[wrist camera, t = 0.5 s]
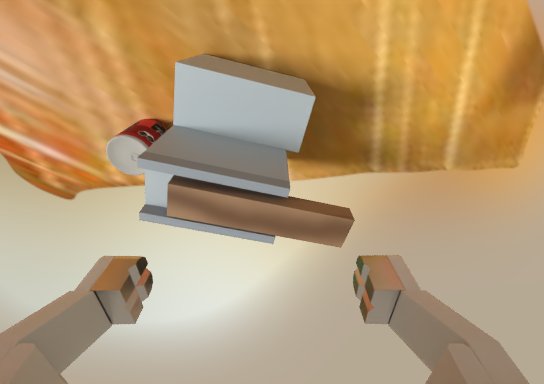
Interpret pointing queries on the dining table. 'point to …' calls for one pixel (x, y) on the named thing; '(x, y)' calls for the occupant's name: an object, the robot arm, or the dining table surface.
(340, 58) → the dining table surface
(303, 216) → the brown bar
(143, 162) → the step box
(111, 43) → the dining table surface
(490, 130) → the dining table surface
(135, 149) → the canned food
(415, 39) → the dining table surface
